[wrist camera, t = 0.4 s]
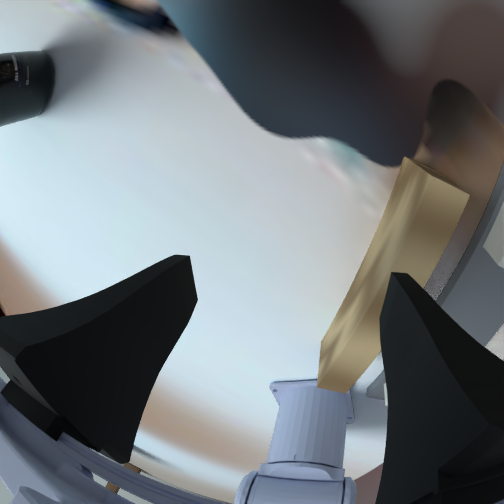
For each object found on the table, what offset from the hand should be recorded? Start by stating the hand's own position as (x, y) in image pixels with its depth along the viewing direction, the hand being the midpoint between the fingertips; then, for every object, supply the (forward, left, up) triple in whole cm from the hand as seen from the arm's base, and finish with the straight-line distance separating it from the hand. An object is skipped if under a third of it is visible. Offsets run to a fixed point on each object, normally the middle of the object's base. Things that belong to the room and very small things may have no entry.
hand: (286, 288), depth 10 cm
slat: (-6, -4, -9) cm, 12 cm away
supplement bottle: (+19, +19, -9) cm, 28 cm away
